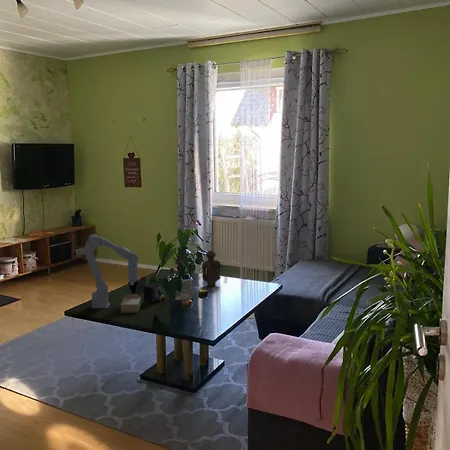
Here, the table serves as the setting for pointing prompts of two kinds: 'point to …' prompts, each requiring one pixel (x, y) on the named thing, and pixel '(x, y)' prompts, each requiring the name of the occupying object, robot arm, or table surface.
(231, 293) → the table surface
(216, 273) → the clay figurine
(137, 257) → the robot arm
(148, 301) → the small box
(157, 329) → the table surface
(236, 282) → the table surface
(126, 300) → the lid
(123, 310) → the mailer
